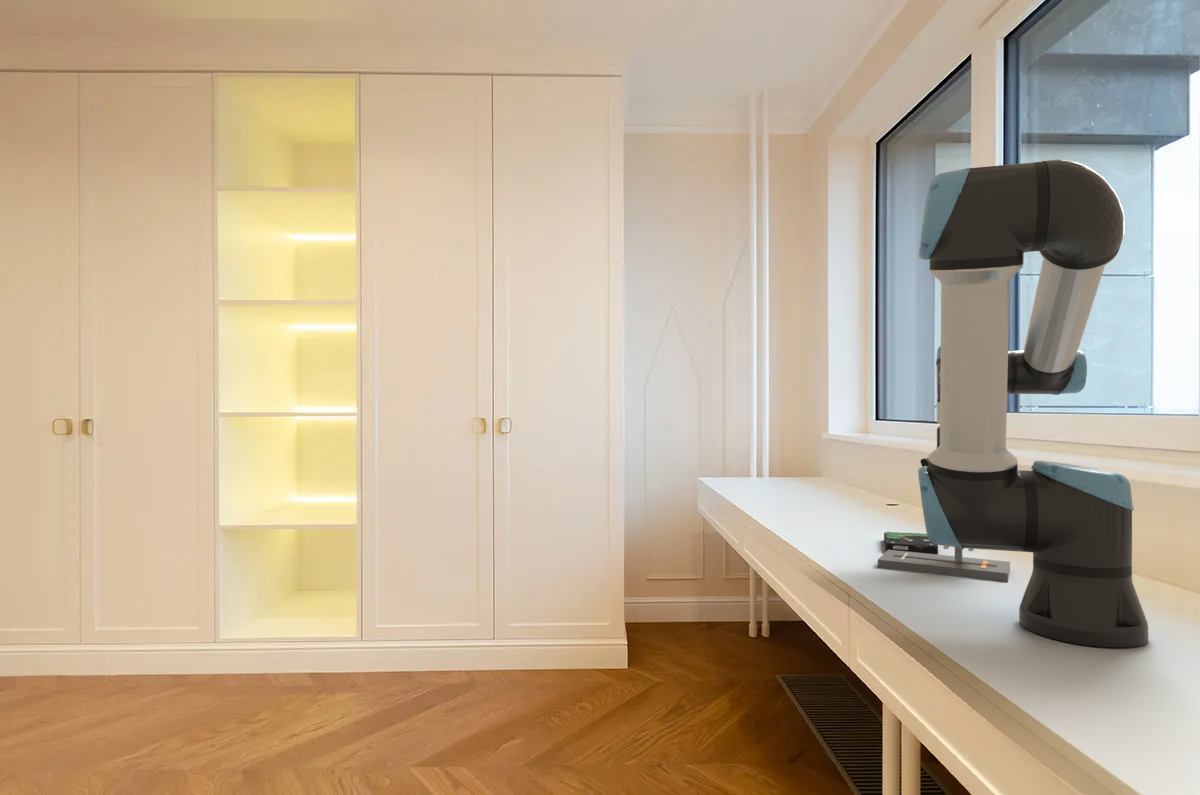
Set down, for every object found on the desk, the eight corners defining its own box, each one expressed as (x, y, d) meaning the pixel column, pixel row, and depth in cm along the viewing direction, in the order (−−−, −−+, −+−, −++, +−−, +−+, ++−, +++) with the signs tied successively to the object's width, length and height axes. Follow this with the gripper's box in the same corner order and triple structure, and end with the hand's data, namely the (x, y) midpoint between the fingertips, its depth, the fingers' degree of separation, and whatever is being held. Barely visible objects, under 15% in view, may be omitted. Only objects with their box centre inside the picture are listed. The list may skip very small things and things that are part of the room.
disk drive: (939, 559, 153) (931, 545, 167) (939, 546, 153) (931, 533, 167) (885, 555, 156) (882, 542, 170) (885, 542, 156) (882, 530, 170)
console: (1007, 581, 131) (1007, 572, 131) (877, 567, 142) (877, 559, 142) (1010, 569, 141) (1010, 561, 141) (888, 556, 152) (888, 549, 152)
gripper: (1008, 425, 139) (1009, 549, 139) (914, 424, 148) (914, 541, 148) (1007, 427, 133) (1008, 557, 133) (908, 425, 141) (908, 547, 141)
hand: (958, 548), depth 140 cm, fingers closed on fader, 4 cm apart
